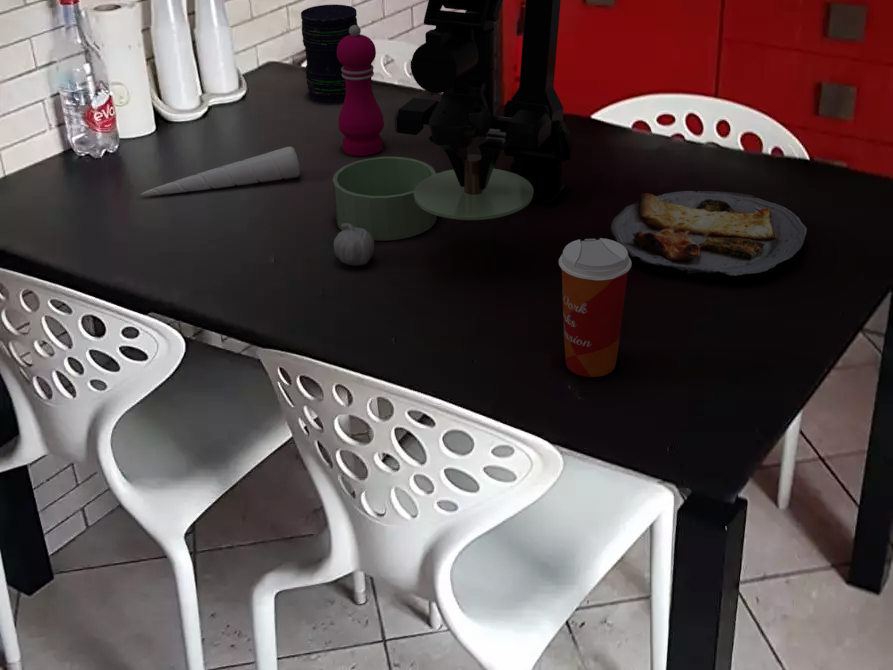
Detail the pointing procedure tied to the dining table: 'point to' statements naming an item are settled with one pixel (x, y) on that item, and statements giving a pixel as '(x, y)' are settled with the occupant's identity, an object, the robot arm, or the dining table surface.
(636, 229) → the food plate
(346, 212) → the squat sage green cylinder
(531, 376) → the dining table surface
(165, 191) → the unicorn horn
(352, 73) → the pepper mill
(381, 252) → the dining table surface
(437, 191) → the lid
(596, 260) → the paper cup
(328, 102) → the storage jar
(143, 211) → the dining table surface
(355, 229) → the garlic
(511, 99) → the robot arm
